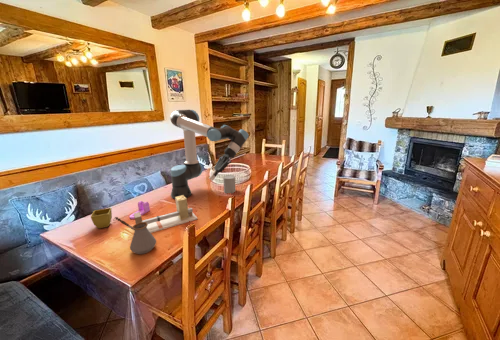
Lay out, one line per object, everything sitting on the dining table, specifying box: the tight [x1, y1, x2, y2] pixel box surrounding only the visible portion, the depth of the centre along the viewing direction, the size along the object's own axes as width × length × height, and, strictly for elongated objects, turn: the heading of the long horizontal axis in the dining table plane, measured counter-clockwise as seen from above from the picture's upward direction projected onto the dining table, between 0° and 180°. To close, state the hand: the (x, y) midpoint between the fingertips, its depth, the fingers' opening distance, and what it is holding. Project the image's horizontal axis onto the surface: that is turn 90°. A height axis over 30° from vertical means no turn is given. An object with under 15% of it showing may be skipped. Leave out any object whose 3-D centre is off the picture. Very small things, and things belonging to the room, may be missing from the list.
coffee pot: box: [113, 216, 157, 255], centre depth 105 cm, size 21×12×15 cm, turn 71°
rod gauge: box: [133, 207, 198, 234], centre depth 127 cm, size 11×33×10 cm, turn 123°
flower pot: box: [90, 207, 113, 229], centre depth 126 cm, size 9×9×9 cm
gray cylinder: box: [222, 174, 237, 194], centre depth 174 cm, size 10×10×12 cm
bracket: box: [129, 200, 151, 220], centre depth 140 cm, size 13×6×7 cm, turn 163°
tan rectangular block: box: [174, 195, 189, 220], centre depth 131 cm, size 7×5×12 cm
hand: (210, 179), depth 139 cm, fingers closed
